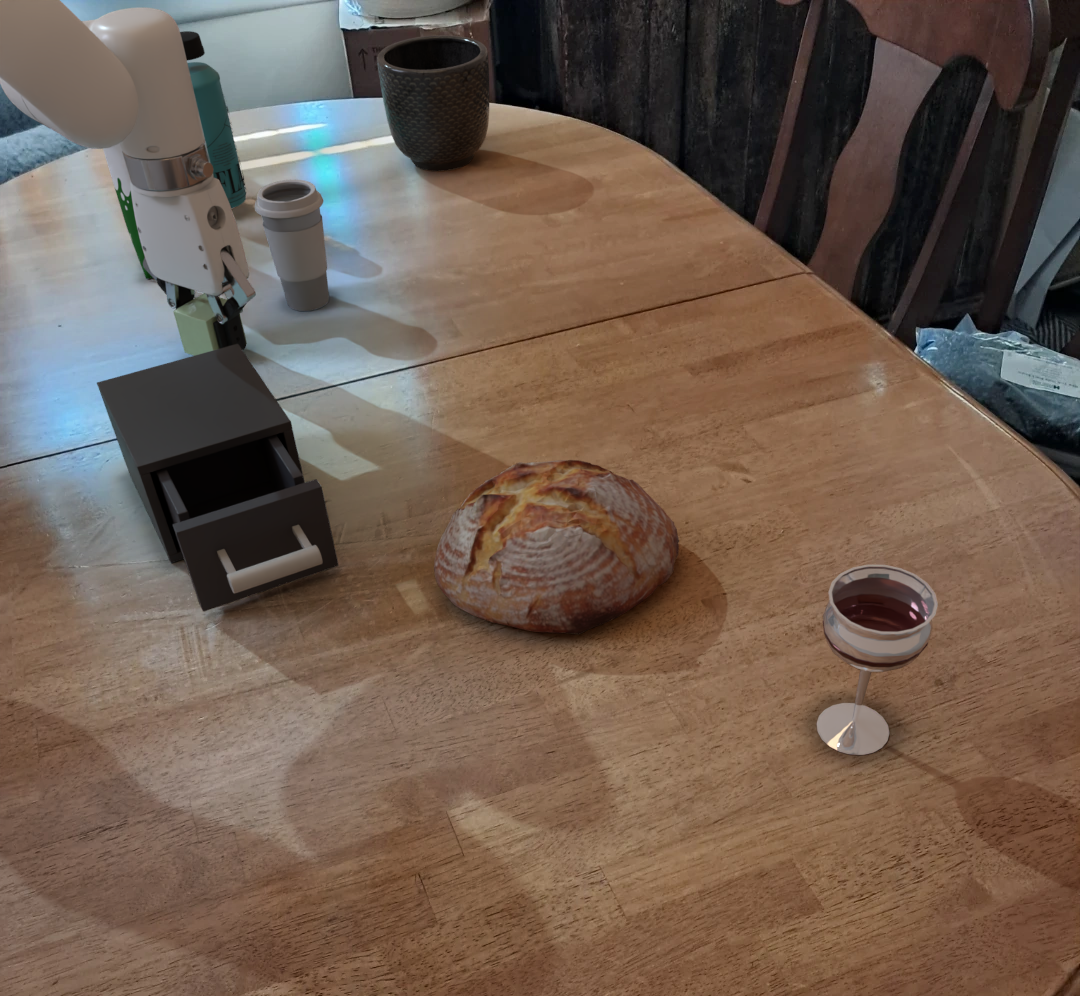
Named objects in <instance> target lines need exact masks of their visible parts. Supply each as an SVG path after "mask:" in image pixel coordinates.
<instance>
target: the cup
mask: <svg viewBox="0 0 1080 996" xmlns="http://www.w3.org/2000/svg"><path fill="white" fill-rule="evenodd" d="M323 204H324V198H323V196H322V193H321V192H319V190H317V188H316V185H315V184H314V183H313V182H311V181H308V180H303V179H284V180H278V181H273V182H271V183H268V184H266V185H264V186H262V187H261V188H260V189H259V190H258V192H257V199H256V200H255V202H254V211H255V212H256V213H257V214H258V215H260V216H261V220H262V227H263V231H264V235H265V237H266V240H267V244H268V247H269V252H270V254H271V257H272V261H273V264H274V267H275V271H276V274H277V277H278V278H279V280H280V283H281V288H282V290H283V294H284V297H285V300H286V304H287V306H288V308H290V309H291V310H294V311H299V312H311V311H315V310H319V309H321V308H323V307H324V306H326V305H327V304H328V303H329V302H330V293H329V283H328V273H327V271H328V262H327V250H326V242H325V232H324V222H323V216H322V214H321V207H322V206H323Z"/></svg>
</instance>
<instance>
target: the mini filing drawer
mask: <svg viewBox="0 0 1080 996" xmlns="http://www.w3.org/2000/svg"><path fill="white" fill-rule="evenodd" d="M152 473H153V476H154V479H155V482H156V485H157V488H158V491H159V494H160V496H161V499H162V502H163V505H164V508H165V511H166V514H167V517H168V519H169V521H170V523H171V525H172V527H173V529H174V531H175V534H176V537H177V540H178V543H179V546H180V549H181V551H182V554H183V557H184V559H183V560H184V564H185V566H186V569H187V572H188V575H189V578H190V580H191V584H192V586H193V589H194V592H195V595H196V598H197V602H198V604H199V606H200V608H201V610H202V612H203V613H205V612H207V611H209V610H213V609H215V608H218V607H221V606H225V605H228V604H230V603H234V602H237V601H240V600H243V599H246V598H248V597H251V596H254V595H256V594H260V593H263V592H266V591H269V590H272V589H275V588H277V587H281V586H283V585H287V584H289V583H292V582H295V581H298V580H301V579H304V578H306V577H310V576H313V575H315V574H318V573H321V572H323V571H328V570H330V569H333V568H336V567H338V566H339V559H338V557H337V552H336V547H335V541H334V537H333V534H332V528H331V524H330V519H329V515H328V510H327V506H326V505H327V504H326V501H325V496H324V491H323V486H322V485H321V484H320V482H319V480H318V479H316V478H315V479H312V480H309V481H305V478H304V479H303V477H304V474H303V475H302V474H301V472H300V470H299V469H298V467H297V466H296V464H295V463H294V461H293V460H292V458H291V457H290V455H289V454H288V452H287V451H286V449H285V447H284V446H283V444H282V443H281V441H280V440H279V438H278V437H277V435H272V436H269V437H266V438H262V439H259V440H256V441H252V442H249V443H246V444H242V445H239V446H236V447H233V448H229V449H226V450H223V451H219V452H216V453H213V454H209V455H206V456H203V457H199V458H196V459H193V460H189V461H186V462H183V463H179V464H176V465H173V466H170V467H166V468H163V469H160V470H156V471H153V472H152ZM304 482H305V483H304Z"/></svg>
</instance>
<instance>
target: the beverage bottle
mask: <svg viewBox="0 0 1080 996" xmlns="http://www.w3.org/2000/svg"><path fill="white" fill-rule="evenodd" d="M180 34H181V38H182V42H183V46H184V51H185V55H186V59H187V61H190V62H187V64H188V68H189V72H190V77H191V81H192V86H193V90H194V94H195V99H196V103H197V107H198V112H199V116H200V120H201V125H202V129H203V133H204V138H205V141H206V146H207V150H208V154H209V159H210V163H211V164H212V166H213V177H214V178H216V179H218V180H219V181H220V183H221V185H222V187H223V189H224V191H225V194H226V196H227V199H228V201H229V204H230V206H231V209H234V208H237V207H239V206H241V205H243V204H244V203H245V202H246V199H247V191H248V189H247V187H246V182H245V177H244V172H243V171H242V168H243V167H242V166H241V165H242V164H241V159H240V157H239V156H238V150H237V148H238V146H237V145H236V141H235V139H234V135H233V134H234V131H233V128H232V126H233V124H232V122H231V120H230V115H229V114H230V111H229V107H228V105H227V103H226V96H225V95H224V92H223V87H222V84H221V83H222V82H221V77H220V74H219V72H218V71H217V70H216V69H215V68H213V67H212V66H211V65H209V64H207V63H205V62H200V61H192V60H197V59H199V58H201V57H203V56H204V55H205V53H206V52H205V47H204V46H203V43H202V39H201V37H200V34H199V33H198V32H196V31H193V30H192V31H191V30H189V31H188V30H186V31H184V30H183V31H180Z"/></svg>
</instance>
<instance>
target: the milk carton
mask: <svg viewBox="0 0 1080 996" xmlns="http://www.w3.org/2000/svg"><path fill="white" fill-rule="evenodd" d="M102 150H103V154H104V158H105V160H106V164H107V167H108V171H109V174H110V177H111V180H112V184H113V187H114V190H115V193H116V196H117V200H118V204H119V206H120V210H121V213H122V217H123V220H124V223H125V227H126V229H127V233H128V235H129V238H130V239H131V243H132V245H133V248H134V251H135V253H136V256H137V259H138V261H139V264H140V267H141V269H142V272H143V275H144V277H145V279H146V280H151V279H154V278H153V277H152V276H151V275H150V274H149V273H148V272H147V271H146V270H145V268H144V267H143V261H144V258H145V255H144V252H143V249H142V245H141V241H140V238H139V233H138V229H137V225H136V219H135V214H134V209H133V203H132V196H131V187H130V177H129V174H128V170H127V167H126V163H125V160H124V156H123V153H122V149H121V145H120V143H119V144H117V145H115V146H112V147H109V148H104V149H102Z"/></svg>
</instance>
